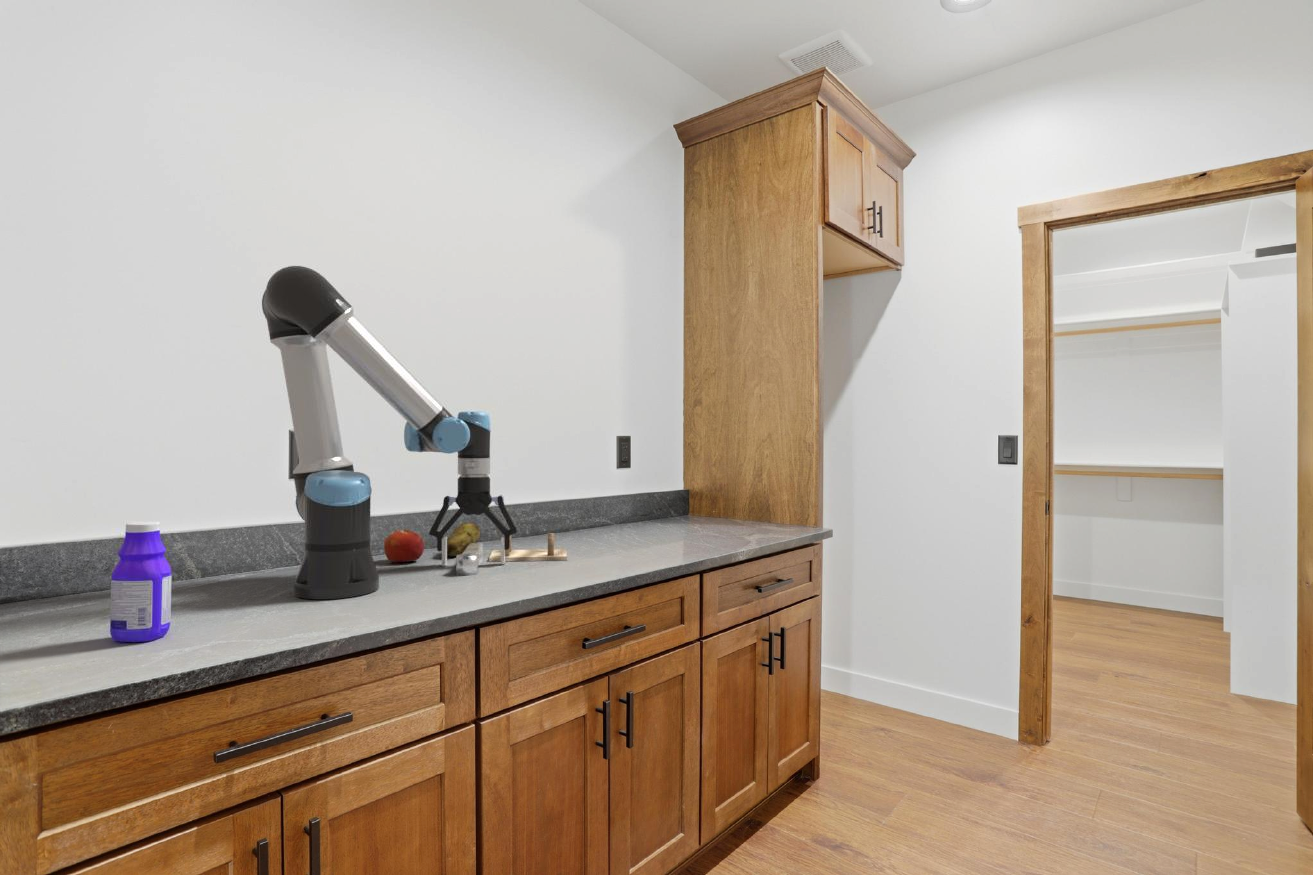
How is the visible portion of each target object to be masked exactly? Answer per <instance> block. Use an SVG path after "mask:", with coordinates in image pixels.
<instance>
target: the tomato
mask: <svg viewBox="0 0 1313 875" xmlns="http://www.w3.org/2000/svg"><path fill="white" fill-rule="evenodd" d="M383 547H384V553H385V556H386V558H387V560H390V561H391V562H393V563H407V562H411V561H412V562H413V561H417V560H419V559H420V558H421V557H422V555H423V553H424V551H425V550H424V549H425V542H424V539H423V537H422V536H421V535H420V534H418V533H416V532H414V531H412V530H411V529H396V530H395V531H394V532H393V533H391V534H389V535H388V536H387V537H386V538H385V540H384V542H383Z"/></svg>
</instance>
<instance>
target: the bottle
mask: <svg viewBox="0 0 1313 875" xmlns="http://www.w3.org/2000/svg"><path fill="white" fill-rule="evenodd" d="M160 526H161V522H160V521H154V520H150V521H149V520H148V521H147V520H145V521H131V522H127V523H125V536H124V541H123V543H122V546H121V547H120V549H119V550H118V551H117V555H118V557H119V561H118V562H117V564H116V565H115V567H114V569H113V571H112V573H111V577H110V578H111V581H110V582H111V583H110V618H109V620H110V624H109V633H110V637H111V639H112V640H113V641H115V642H119V643H121V642H122V643H142V642H143V643H144V642H151V641H156V640H157V639H160V638H162V637H164V636H166V634H167V633H168V632H169V630H170V626H171V608H172V569H171V566H170V564H169V562H168V561H167V558H165V554H166V552H167V548H166V547H165V546H164V543H163V542H162V540H161V527H160Z"/></svg>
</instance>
